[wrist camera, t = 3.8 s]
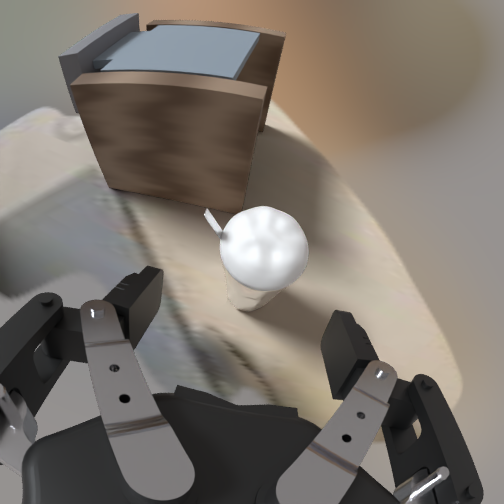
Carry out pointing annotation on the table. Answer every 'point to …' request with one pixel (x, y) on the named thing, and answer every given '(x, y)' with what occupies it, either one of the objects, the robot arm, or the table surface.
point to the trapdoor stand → (181, 125)
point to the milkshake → (260, 255)
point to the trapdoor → (158, 50)
